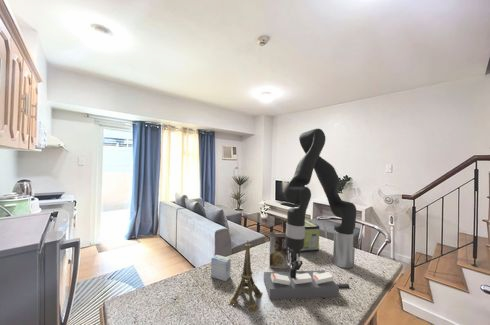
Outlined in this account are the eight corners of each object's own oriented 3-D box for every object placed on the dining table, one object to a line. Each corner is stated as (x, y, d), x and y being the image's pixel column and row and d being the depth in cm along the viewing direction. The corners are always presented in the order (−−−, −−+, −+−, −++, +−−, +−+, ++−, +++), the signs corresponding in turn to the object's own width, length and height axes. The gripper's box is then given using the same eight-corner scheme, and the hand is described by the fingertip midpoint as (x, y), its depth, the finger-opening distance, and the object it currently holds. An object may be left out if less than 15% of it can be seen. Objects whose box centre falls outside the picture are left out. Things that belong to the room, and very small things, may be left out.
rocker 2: (308, 276, 85) (308, 272, 85) (312, 281, 81) (311, 277, 81) (292, 278, 84) (291, 275, 84) (295, 284, 81) (294, 280, 81)
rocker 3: (328, 275, 86) (328, 271, 86) (333, 280, 82) (332, 276, 82) (313, 279, 85) (312, 275, 85) (317, 284, 82) (316, 280, 82)
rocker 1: (286, 279, 84) (287, 275, 84) (289, 285, 80) (290, 280, 80) (270, 277, 83) (271, 273, 83) (272, 282, 80) (273, 278, 80)
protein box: (287, 246, 128) (288, 221, 128) (309, 244, 132) (310, 220, 132) (295, 253, 118) (296, 227, 118) (319, 251, 122) (320, 225, 122)
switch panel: (340, 278, 94) (340, 268, 94) (357, 296, 82) (357, 284, 82) (263, 281, 90) (263, 270, 90) (269, 299, 78) (270, 287, 78)
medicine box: (230, 277, 92) (231, 258, 92) (225, 282, 88) (226, 262, 88) (216, 272, 96) (216, 254, 96) (210, 277, 92) (211, 258, 92)
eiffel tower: (256, 312, 71) (258, 241, 71) (228, 304, 75) (230, 237, 74) (262, 293, 82) (264, 231, 81) (237, 287, 85) (239, 228, 84)
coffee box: (286, 263, 107) (287, 232, 106) (287, 269, 100) (288, 237, 100) (268, 261, 108) (269, 231, 107) (269, 268, 101) (270, 235, 101)
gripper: (310, 241, 76) (308, 287, 76) (298, 229, 89) (295, 268, 89) (291, 241, 76) (288, 287, 76) (281, 229, 89) (279, 268, 89)
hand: (292, 277), depth 82 cm, fingers closed
